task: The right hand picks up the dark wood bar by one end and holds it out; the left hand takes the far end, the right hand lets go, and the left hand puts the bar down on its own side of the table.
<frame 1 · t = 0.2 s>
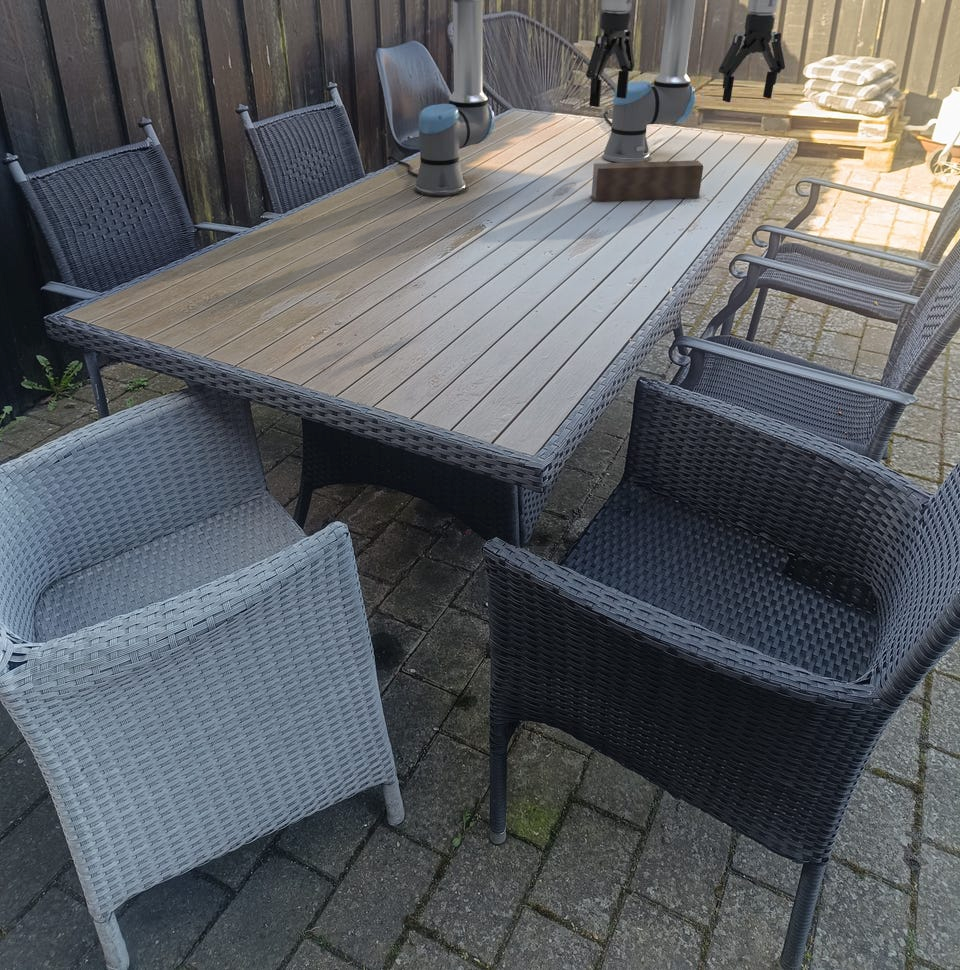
left hand: (608, 102, 225), 29 cm above the table, tool pointing down, fingers open, 13 cm apart
right hand: (746, 99, 237), 27 cm above the table, tool pointing down, fingers open, 13 cm apart
bar: (644, 197, 253), on the table
dark red rounded lump: (667, 182, 264), on the table
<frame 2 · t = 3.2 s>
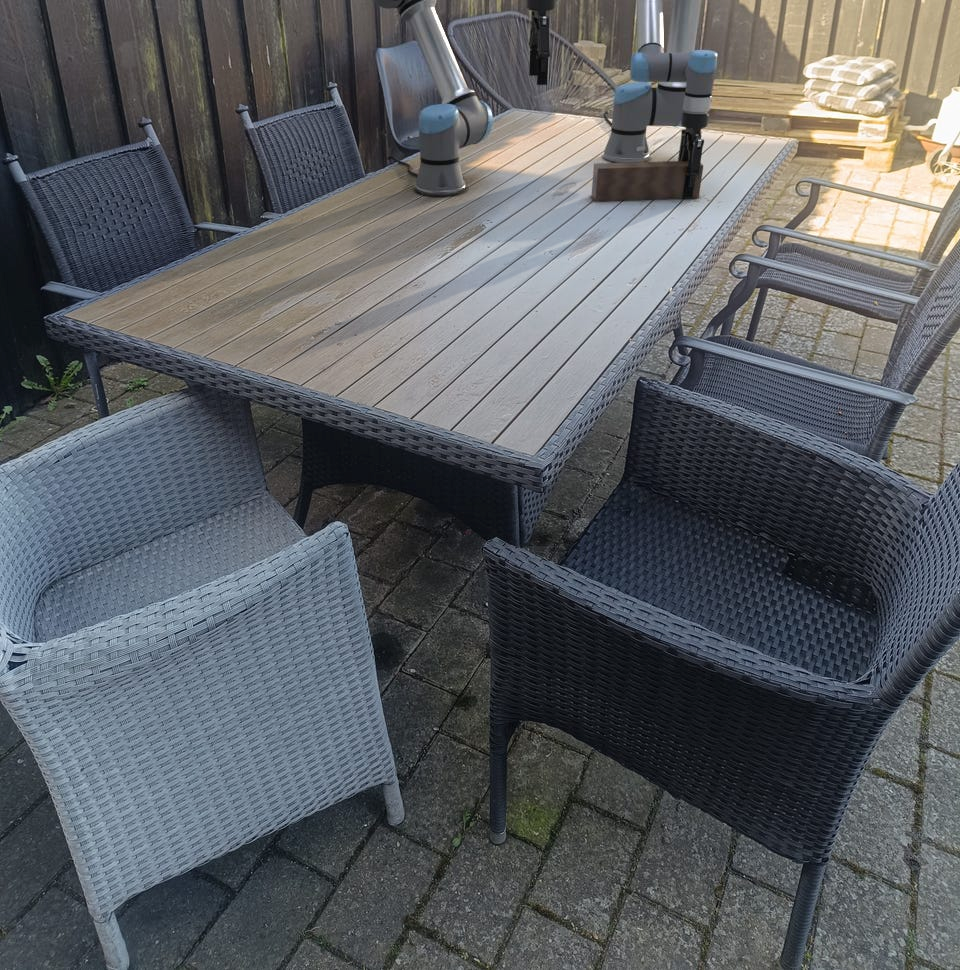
left hand: (537, 80, 236), 32 cm above the table, tool pointing down, fingers open, 13 cm apart
right hand: (684, 193, 253), 1 cm above the table, tool pointing down, fingers closed on bar, 5 cm apart
bar: (644, 197, 253), on the table, touching right hand
everything else where it was.
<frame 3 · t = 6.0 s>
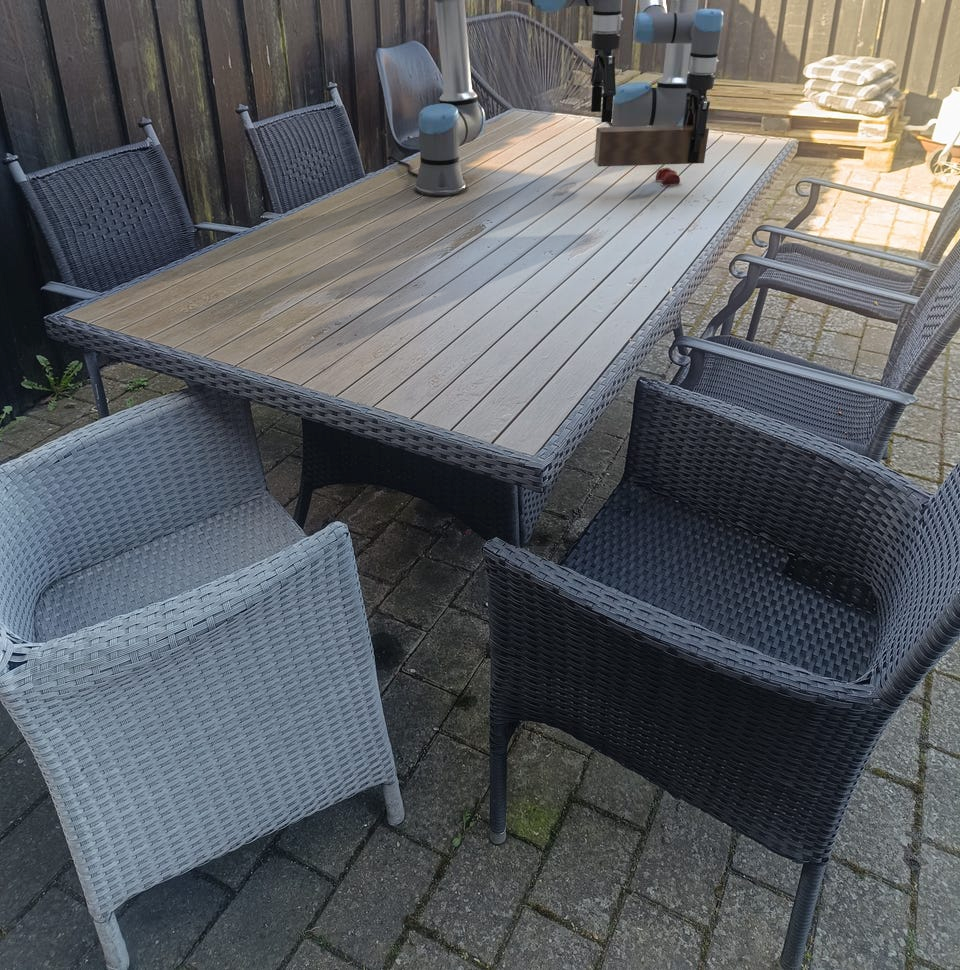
left hand: (600, 116, 238), 23 cm above the table, tool pointing down, fingers open, 13 cm apart
right hand: (689, 159, 248), 11 cm above the table, tool pointing down, fingers closed on bar, 5 cm apart
bar: (648, 162, 247), point 10 cm above the table, touching right hand
everything else where it was.
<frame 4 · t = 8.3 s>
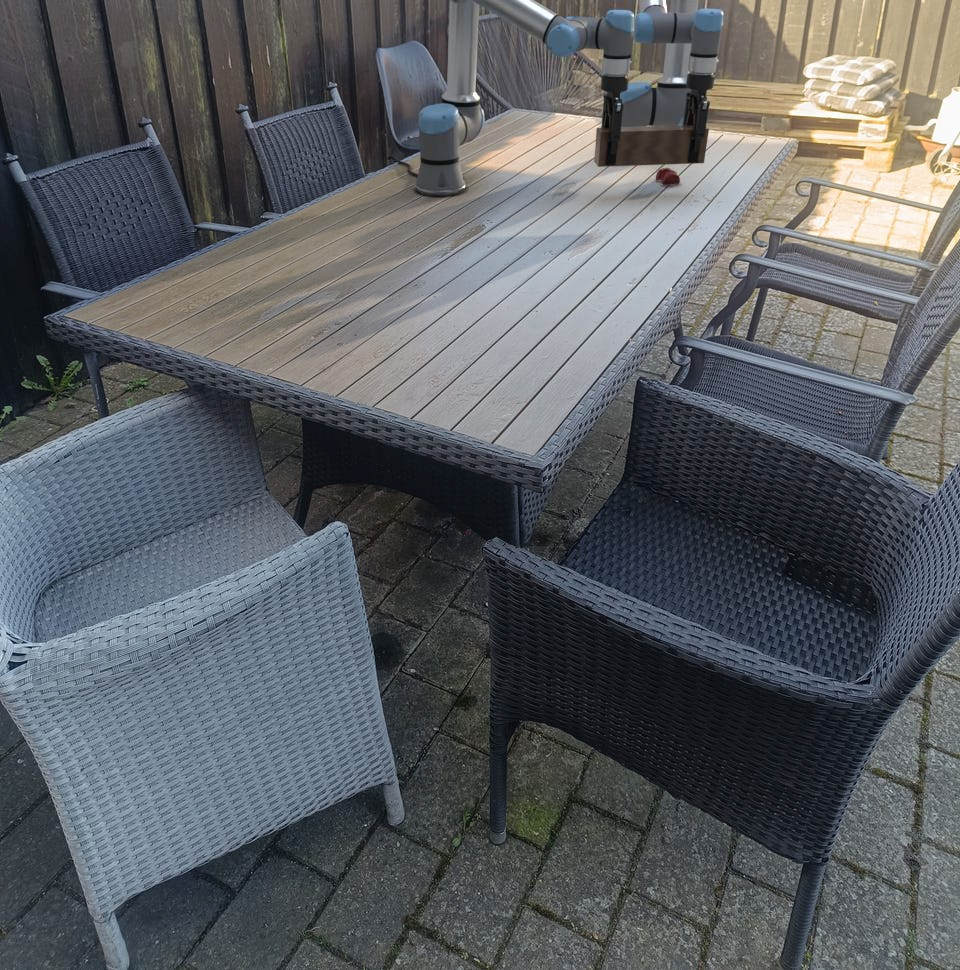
left hand: (608, 161, 245), 11 cm above the table, tool pointing down, fingers closed on bar, 5 cm apart
right hand: (689, 159, 248), 11 cm above the table, tool pointing down, fingers closed on bar, 5 cm apart
bar: (648, 162, 247), point 10 cm above the table, touching left hand, right hand
everything else where it was.
when the right hand's fingers open (11 cm above the table, at t = 9.1 s): bar stays where it is, held by the left hand.
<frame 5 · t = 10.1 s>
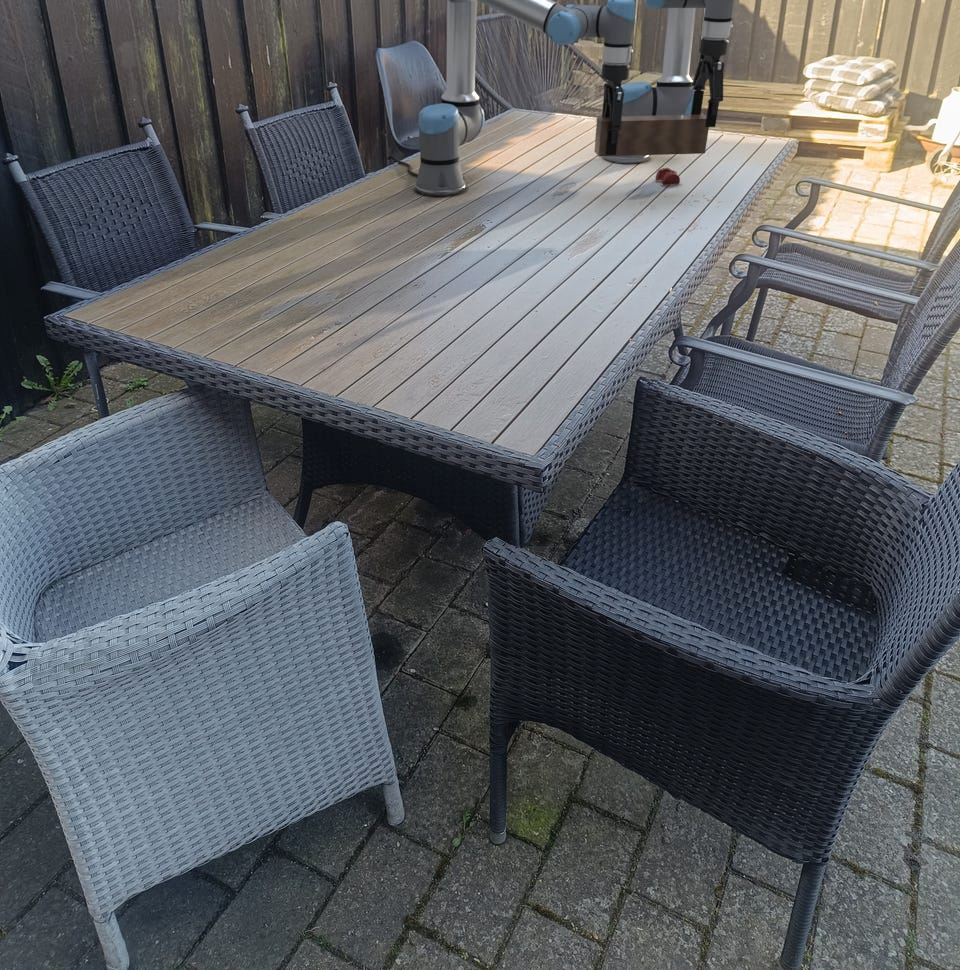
left hand: (608, 151, 244), 13 cm above the table, tool pointing down, fingers closed on bar, 5 cm apart
right hand: (702, 120, 242), 21 cm above the table, tool pointing down, fingers open, 13 cm apart
bar: (649, 152, 245), point 13 cm above the table, touching left hand
everything else where it was.
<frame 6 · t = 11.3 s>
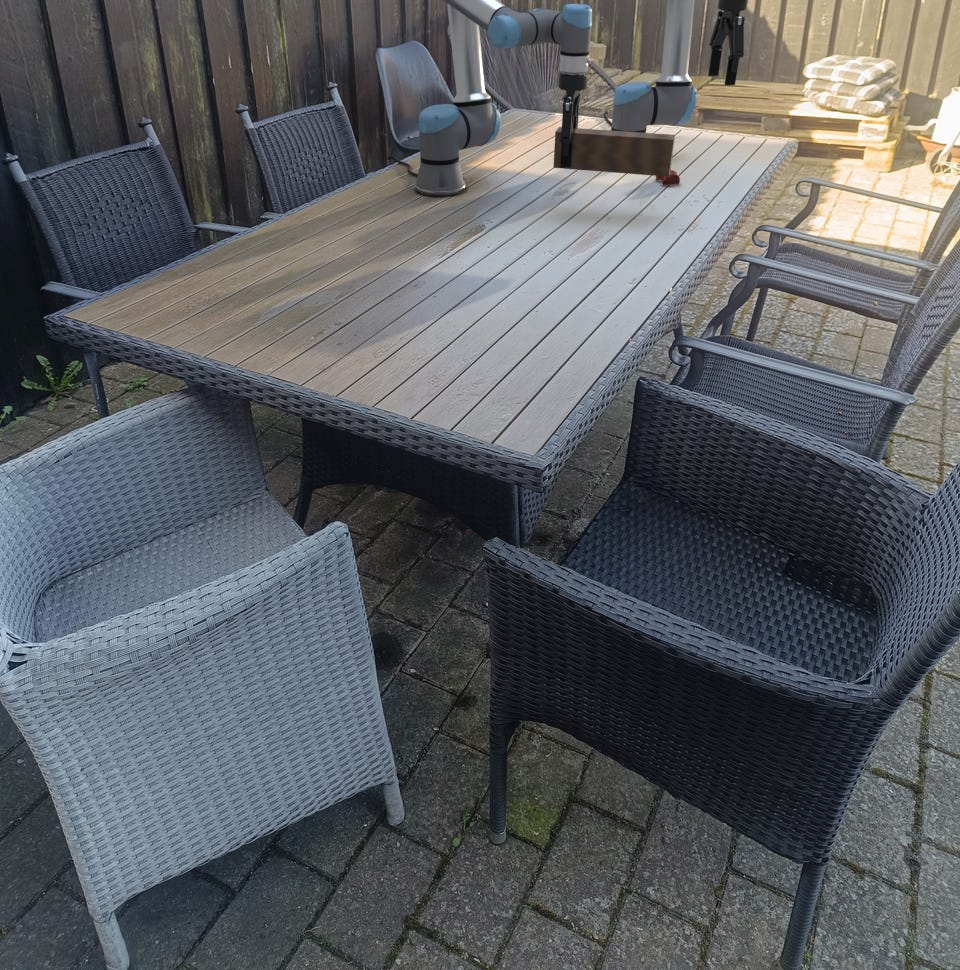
left hand: (567, 163, 234), 13 cm above the table, tool pointing down, fingers closed on bar, 5 cm apart
right hand: (721, 80, 236), 32 cm above the table, tool pointing down, fingers open, 13 cm apart
bar: (611, 169, 231), point 13 cm above the table, touching left hand
everything else where it was.
when the left hand's fingers open (2 cm above the table, at t = 14.5 s): bar drops 2 cm, on the table.
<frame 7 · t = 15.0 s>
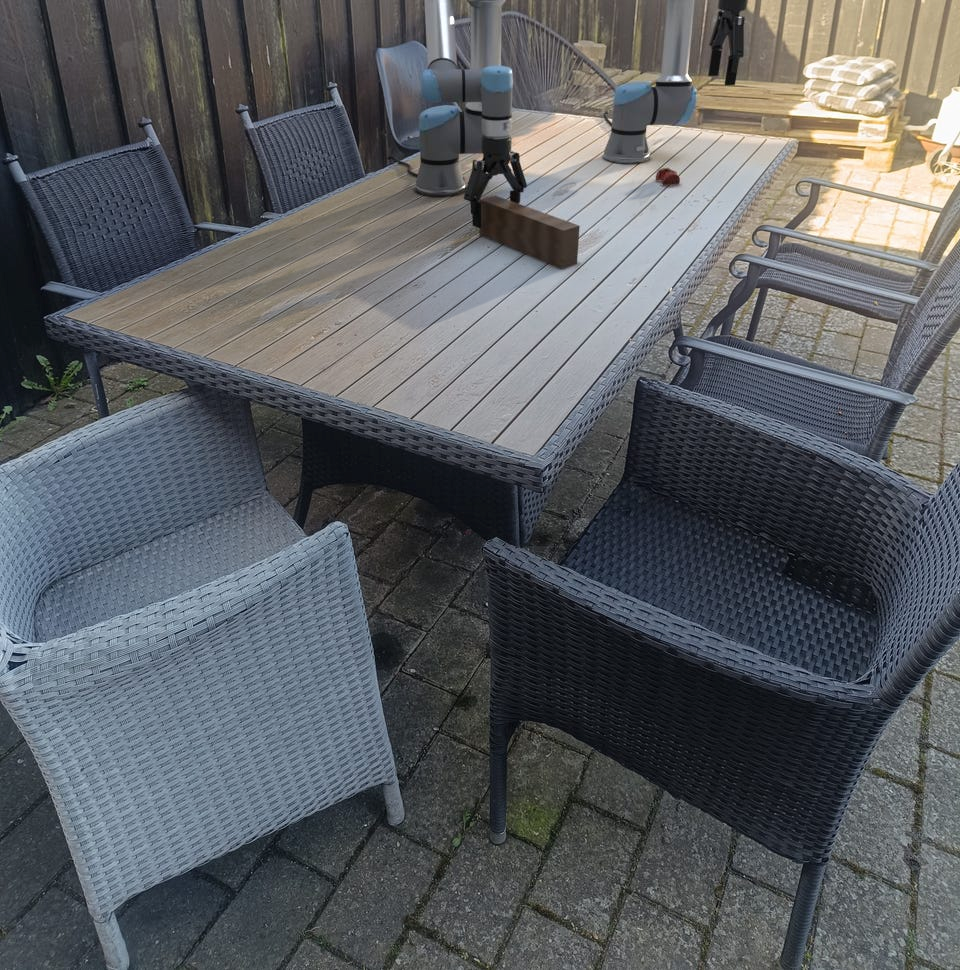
left hand: (495, 221, 222), 4 cm above the table, tool pointing down, fingers open, 12 cm apart
right hand: (721, 80, 236), 32 cm above the table, tool pointing down, fingers open, 13 cm apart
bar: (526, 248, 217), on the table
everything else where it was.
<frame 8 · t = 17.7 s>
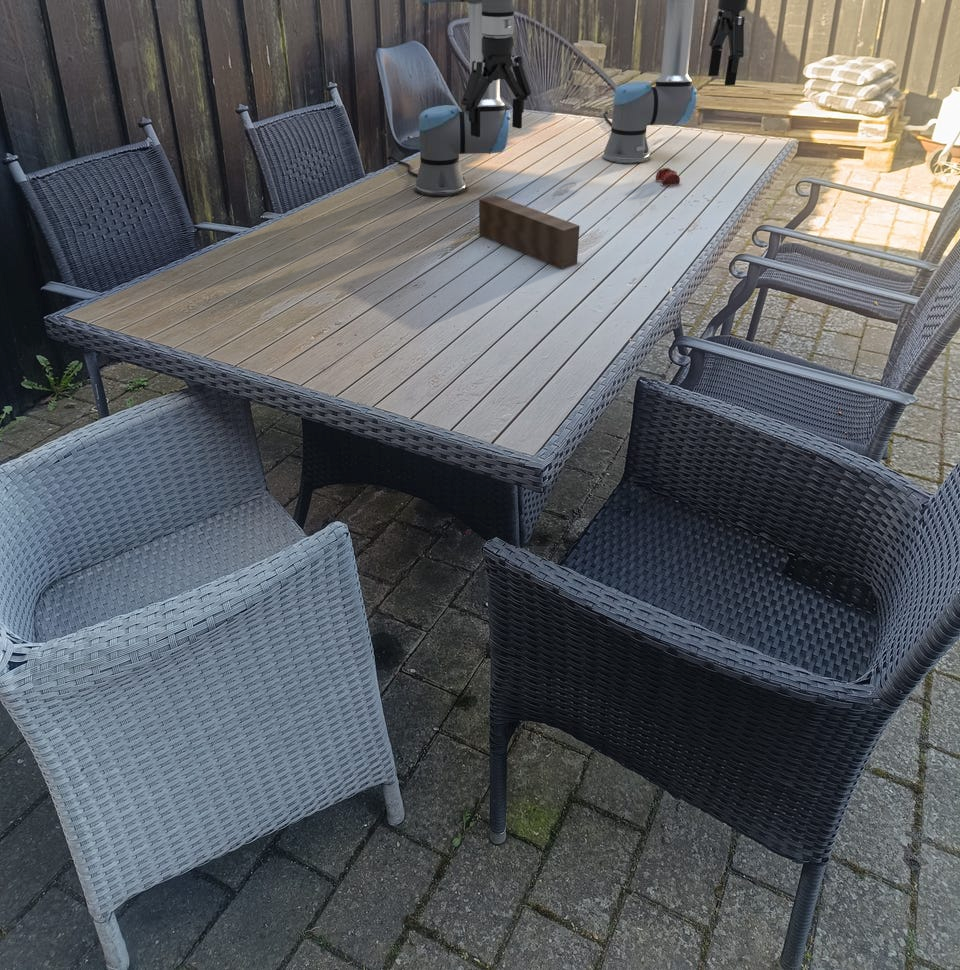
left hand: (496, 131, 209), 26 cm above the table, tool pointing down, fingers open, 13 cm apart
right hand: (721, 80, 236), 32 cm above the table, tool pointing down, fingers open, 13 cm apart
nothing on the table moved.
at the end: bar inside the target area (12.3 cm from its centre), on the table; the left hand is holding nothing; the right hand is holding nothing; bar at rest at the end (0.0 cm/s) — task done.
